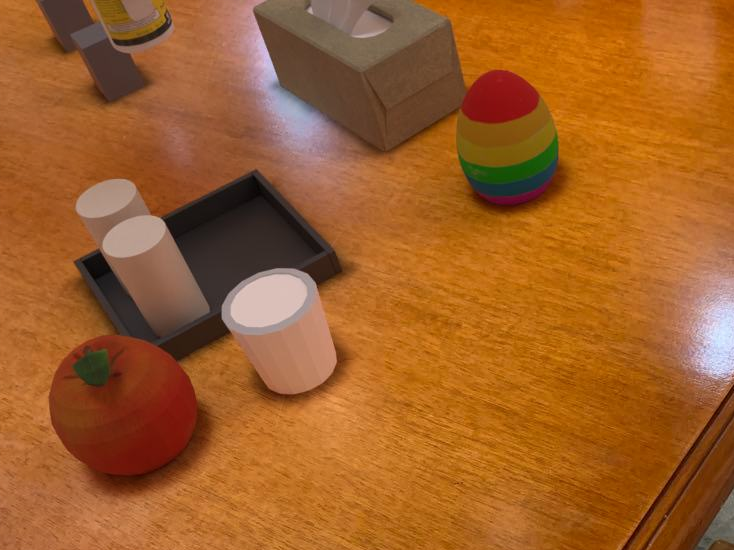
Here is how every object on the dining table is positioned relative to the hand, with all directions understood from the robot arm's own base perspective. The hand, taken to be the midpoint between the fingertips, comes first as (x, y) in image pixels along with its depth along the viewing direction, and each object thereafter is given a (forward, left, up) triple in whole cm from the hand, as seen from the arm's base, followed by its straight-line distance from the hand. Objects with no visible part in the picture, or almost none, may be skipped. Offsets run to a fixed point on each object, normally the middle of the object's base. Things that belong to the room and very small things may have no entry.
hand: (127, 1), depth 73 cm
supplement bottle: (0, 0, -3) cm, 3 cm away
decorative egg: (+21, -14, -20) cm, 32 cm away
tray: (-4, -6, -20) cm, 21 cm away
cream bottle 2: (-8, -9, -19) cm, 22 cm away
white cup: (-3, -21, -20) cm, 29 cm away
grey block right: (+1, +30, -19) cm, 36 cm away
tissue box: (+19, +8, -20) cm, 28 cm away
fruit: (-15, -20, -20) cm, 32 cm away
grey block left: (+1, +44, -20) cm, 48 cm away
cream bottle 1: (-8, -2, -19) cm, 21 cm away
